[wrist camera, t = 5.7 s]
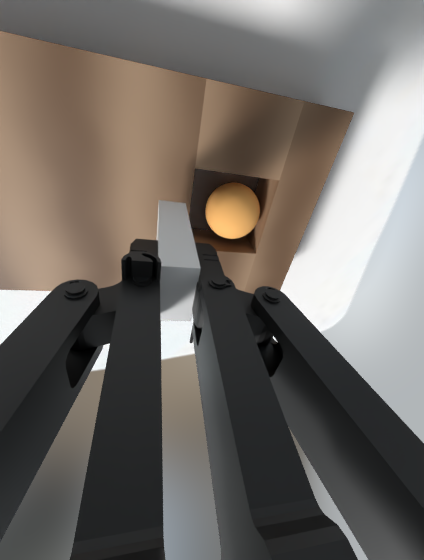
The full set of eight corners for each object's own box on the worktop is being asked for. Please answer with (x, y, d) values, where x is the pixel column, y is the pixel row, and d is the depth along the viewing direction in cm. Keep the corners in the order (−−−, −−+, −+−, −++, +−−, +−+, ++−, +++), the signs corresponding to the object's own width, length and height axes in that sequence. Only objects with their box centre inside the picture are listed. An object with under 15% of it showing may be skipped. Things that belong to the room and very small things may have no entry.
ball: (218, 171, 20) (199, 185, 16) (269, 182, 19) (260, 198, 16) (212, 220, 22) (195, 240, 19) (257, 231, 21) (247, 254, 18)
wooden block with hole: (10, 261, 20) (-13, 289, 18) (-73, 18, 12) (-139, -2, 10) (264, 274, 26) (277, 296, 23) (323, 108, 17) (354, 112, 15)
